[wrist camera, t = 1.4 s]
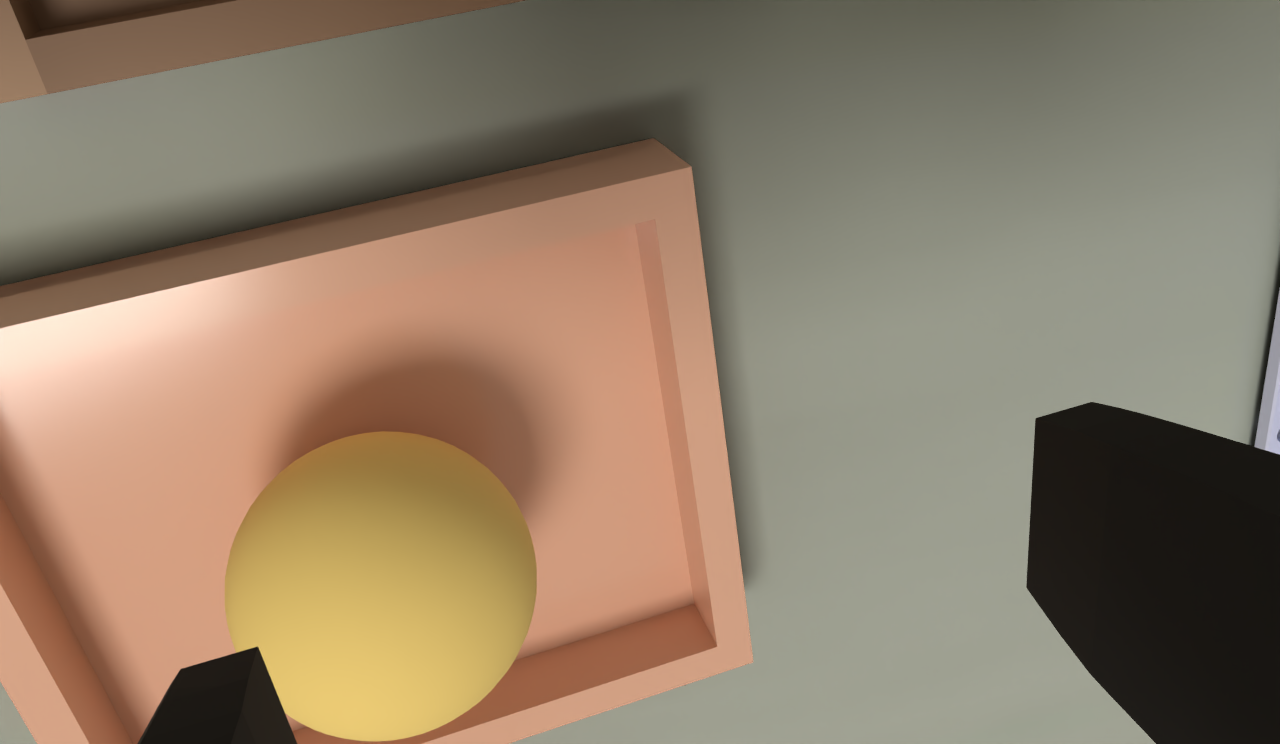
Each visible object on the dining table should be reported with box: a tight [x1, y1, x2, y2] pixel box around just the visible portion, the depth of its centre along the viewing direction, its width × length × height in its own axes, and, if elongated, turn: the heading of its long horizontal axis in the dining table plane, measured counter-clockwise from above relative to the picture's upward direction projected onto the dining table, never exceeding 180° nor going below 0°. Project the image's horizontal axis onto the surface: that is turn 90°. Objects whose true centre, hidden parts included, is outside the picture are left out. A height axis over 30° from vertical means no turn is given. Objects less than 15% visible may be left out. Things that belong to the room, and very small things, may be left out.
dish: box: [0, 138, 753, 744], centre depth 18 cm, size 10×12×2 cm
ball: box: [225, 431, 537, 741], centre depth 17 cm, size 5×5×5 cm
